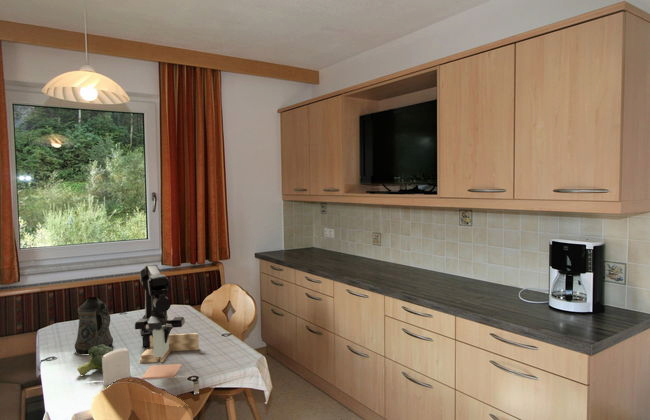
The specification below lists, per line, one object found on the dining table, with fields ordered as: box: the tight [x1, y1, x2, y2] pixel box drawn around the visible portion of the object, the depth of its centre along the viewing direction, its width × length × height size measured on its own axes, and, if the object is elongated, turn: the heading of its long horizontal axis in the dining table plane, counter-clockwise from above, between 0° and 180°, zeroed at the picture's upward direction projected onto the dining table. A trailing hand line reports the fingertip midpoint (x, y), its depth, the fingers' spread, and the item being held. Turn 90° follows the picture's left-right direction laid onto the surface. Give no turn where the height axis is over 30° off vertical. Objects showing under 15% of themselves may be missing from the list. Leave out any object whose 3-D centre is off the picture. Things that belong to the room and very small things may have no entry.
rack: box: [149, 332, 200, 363], centre depth 198 cm, size 22×14×8 cm, turn 94°
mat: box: [141, 363, 183, 380], centre depth 182 cm, size 13×12×1 cm
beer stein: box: [73, 296, 114, 355], centre depth 210 cm, size 16×19×25 cm
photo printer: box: [102, 348, 131, 386], centre depth 175 cm, size 10×4×12 cm, turn 140°
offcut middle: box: [139, 357, 160, 364], centre depth 195 cm, size 7×8×2 cm
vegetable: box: [76, 344, 114, 376], centre depth 183 cm, size 12×13×15 cm
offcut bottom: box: [138, 357, 161, 364], centre depth 195 cm, size 8×9×2 cm
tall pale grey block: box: [153, 325, 169, 357], centre depth 181 cm, size 4×9×11 cm, turn 4°
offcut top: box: [140, 348, 157, 359], centre depth 195 cm, size 6×7×2 cm
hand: (161, 343), depth 182 cm, fingers closed on tall pale grey block, 3 cm apart
